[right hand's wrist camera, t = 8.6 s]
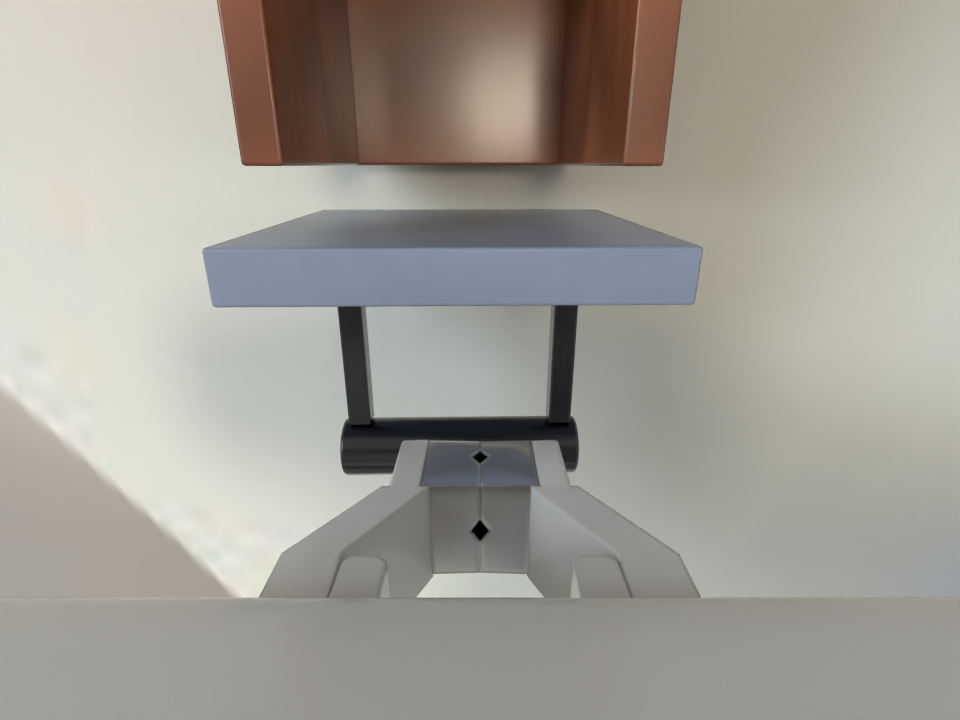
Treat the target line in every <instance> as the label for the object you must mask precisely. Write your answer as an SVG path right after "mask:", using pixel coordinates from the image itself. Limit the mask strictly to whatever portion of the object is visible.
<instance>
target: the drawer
mask: <svg viewBox="0 0 960 720" xmlns="http://www.w3.org/2000/svg"><path fill="white" fill-rule="evenodd" d="M217 3H218V10H219V17H220V23H221V30H222V36H223V43H224V50H225V56H226V63H227V69H228V76H229V83H230V89H231V96H232V102H233V109H234V116H235V122H236V129H237V135H238V142H239V149H240V155H241V162H242V164H243V165H245V166H314V165H589V166H661V165H662V164H663V159H664V150H665V142H666V133H667V125H668V116H669V108H670V99H671V91H672V82H673V74H674V65H675V57H676V48H677V39H678V31H679V22H680V14H681V5H682V0H217ZM702 251H703V250H702V247H700V246H697V245H695V244H692V243H689V242H686V241H683V240H681V239H678V238H675V237H672V236H669V235H666V234H664V233H661V232H658V231H655V230H652V229H649V228H647V227H644V226H641V225H638V224H635V223H632V222H630V221H627V220H624V219H621V218H618V217H616V216H613V215H610V214H607V213H604V212H601V211H599V210H322V211H319V212H316V213H312V214H309V215H306V216H303V217H300V218H297V219H294V220H291V221H288V222H284V223H281V224H278V225H275V226H272V227H269V228H266V229H263V230H259V231H256V232H253V233H250V234H247V235H244V236H241V237H238V238H235V239H231V240H228V241H225V242H222V243H219V244H216V245H213V246H210V247H206V248H204V249H203V257H204V263H205V268H206V273H207V279H208V284H209V289H210V295H211V300H212V305H213V306H214V307H338V316H339V326H340V336H341V346H342V356H343V366H344V376H345V386H346V396H347V406H348V416H349V419H347V420H346V421H345V423H344V426H343V429H342V435H341V446H340V453H341V464H342V468H343V471H344V473H345V474H347V475H377V474H393V471H394V468H395V464H396V461H397V457H398V453H399V450H400V446H401V443H402V442H403V441H404V440H428V441H430V440H435V441H480V442H486V441H527V440H531V441H538V440H556V441H558V443H559V447H560V450H561V454H562V457H563V461H564V464H565V468H566V471H567V472H574V471H575V470H576V468H577V464H578V457H579V440H578V431H577V426H576V422H575V420H574V418H573V417H572V416H570V414H571V400H572V385H573V371H574V356H575V342H576V327H577V313H578V305H691V304H694V302H695V297H696V291H697V284H698V277H699V271H700V264H701V257H702ZM538 305H551V323H550V343H549V363H548V382H547V402H546V415H547V416H498V417H401V418H373V417H374V408H373V395H372V383H371V370H370V358H369V345H368V333H367V320H366V308H365V306H538Z"/></svg>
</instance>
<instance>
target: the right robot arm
mask: <svg viewBox="0 0 960 720" xmlns="http://www.w3.org/2000/svg"><path fill="white" fill-rule="evenodd" d="M446 573H514V574H527V576H528V578H529V579H530V580H531V581H532V582H533V584H534V585H535V586H536V587H537V589H538V590H539V591H540V592H541V594H542V595H543V596H544V597H545V598H416V596H417V595H418V594H419V593H420V592H421V590H422V589H423V588H424V587H425V585H426V584H427V583H428V582H429V581H430V579H431V578H432V577H433V574H446ZM0 720H960V598H701V596H700V594H699V592H698V590H697V588H696V586H695V584H694V582H693V580H692V579H691V577H690V575H689V573H688V571H687V569H686V567H685V565H684V563H683V561H682V559H681V557H680V555H679V554H678V553H677V552H675V551H674V550H672V549H671V548H669V547H668V546H666V545H665V544H663V543H662V542H660V541H659V540H657V539H656V538H654V537H653V536H651V535H650V534H648V533H647V532H645V531H644V530H643V529H641V528H640V527H638V526H637V525H635V524H634V523H632V522H631V521H629V520H628V519H626V518H625V517H623V516H622V515H620V514H619V513H617V512H616V511H614V510H613V509H611V508H610V507H608V506H607V505H605V504H604V503H602V502H601V501H599V500H598V499H596V498H595V497H593V496H592V495H590V494H589V493H587V492H586V491H584V490H583V489H581V488H580V487H578V486H571V485H570V482H569V478H568V475H567V471H566V468H565V464H564V461H563V457H562V454H561V450H560V447H559V443H558V441H556V440H538V441H531V440H527V441H486V442H480V441H435V440H430V441H428V440H404V441H403V442H402V443H401V446H400V450H399V453H398V457H397V461H396V464H395V468H394V471H393V475H392V478H391V482H390V485H389V486H382V487H380V488H379V489H377V490H376V491H374V492H373V493H371V494H370V495H368V496H367V497H365V498H364V499H362V500H361V501H359V502H358V503H356V504H355V505H353V506H352V507H350V508H349V509H347V510H346V511H344V512H343V513H341V514H340V515H338V516H337V517H335V518H334V519H332V520H331V521H329V522H328V523H326V524H325V525H323V526H322V527H320V528H319V529H317V530H316V531H314V532H313V533H311V534H310V535H308V536H307V537H305V538H304V539H302V540H301V541H299V542H298V543H296V544H295V545H293V546H292V547H290V548H289V549H287V550H286V551H284V552H283V553H282V554H281V555H280V557H279V559H278V561H277V563H276V565H275V567H274V569H273V571H272V573H271V575H270V577H269V579H268V581H267V583H266V585H265V587H264V589H263V590H262V592H261V594H260V596H259V598H0Z"/></svg>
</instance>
